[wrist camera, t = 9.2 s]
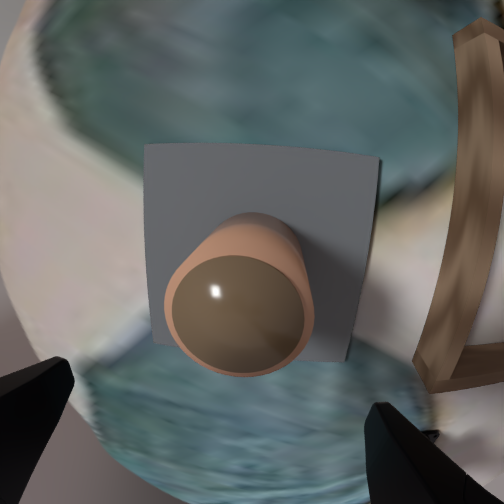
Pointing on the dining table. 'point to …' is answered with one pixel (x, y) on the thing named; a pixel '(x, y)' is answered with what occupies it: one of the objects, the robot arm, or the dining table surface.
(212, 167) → the mat
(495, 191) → the frame
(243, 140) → the dining table surface
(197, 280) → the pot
